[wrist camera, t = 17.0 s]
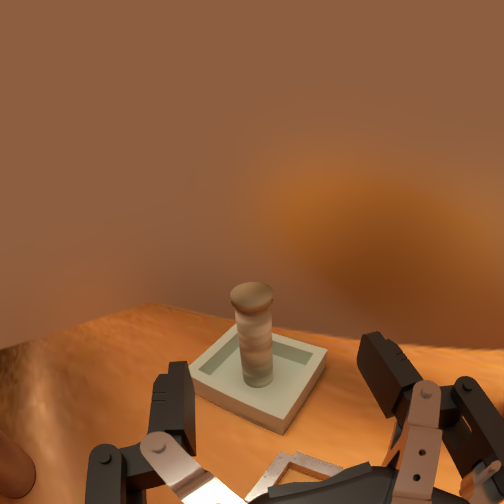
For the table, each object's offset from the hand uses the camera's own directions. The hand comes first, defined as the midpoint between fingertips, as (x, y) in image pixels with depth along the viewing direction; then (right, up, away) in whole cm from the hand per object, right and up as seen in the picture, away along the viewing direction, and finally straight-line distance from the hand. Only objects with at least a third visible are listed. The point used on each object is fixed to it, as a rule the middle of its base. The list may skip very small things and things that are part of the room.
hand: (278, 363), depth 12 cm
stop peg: (0, -13, +28) cm, 31 cm away
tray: (0, -14, +29) cm, 32 cm away
